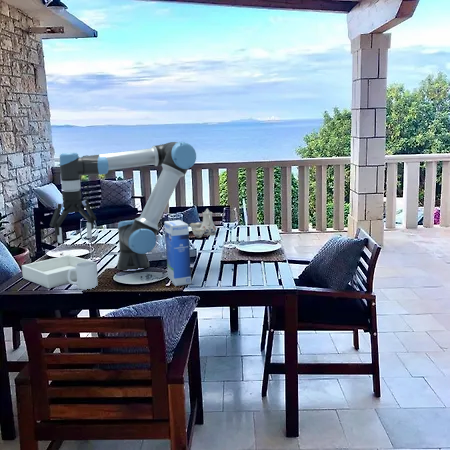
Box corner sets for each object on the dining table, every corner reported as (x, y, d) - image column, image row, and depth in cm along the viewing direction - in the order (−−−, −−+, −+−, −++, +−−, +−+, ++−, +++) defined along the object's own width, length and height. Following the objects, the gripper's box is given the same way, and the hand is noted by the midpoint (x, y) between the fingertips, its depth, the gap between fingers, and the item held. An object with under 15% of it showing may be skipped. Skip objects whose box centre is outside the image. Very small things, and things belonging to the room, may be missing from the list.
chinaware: (187, 233, 320) (183, 208, 317) (212, 228, 324) (208, 203, 320) (195, 242, 294) (191, 215, 290) (222, 237, 297) (218, 210, 293)
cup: (98, 288, 207) (96, 265, 205) (68, 292, 204) (66, 268, 202) (97, 283, 215) (95, 260, 213) (69, 286, 212) (66, 263, 210)
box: (97, 275, 227) (96, 262, 226) (48, 288, 210) (47, 274, 208) (70, 266, 243) (69, 254, 242) (23, 278, 226) (21, 265, 225)
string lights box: (191, 284, 209) (189, 224, 204) (174, 286, 206) (171, 226, 202) (183, 275, 221) (180, 219, 216) (166, 278, 219) (163, 221, 214)
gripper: (93, 187, 217) (96, 234, 221) (38, 192, 200) (43, 243, 204) (102, 188, 212) (105, 236, 216) (46, 194, 195) (51, 246, 199)
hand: (75, 240), depth 210 cm, fingers open, 13 cm apart
